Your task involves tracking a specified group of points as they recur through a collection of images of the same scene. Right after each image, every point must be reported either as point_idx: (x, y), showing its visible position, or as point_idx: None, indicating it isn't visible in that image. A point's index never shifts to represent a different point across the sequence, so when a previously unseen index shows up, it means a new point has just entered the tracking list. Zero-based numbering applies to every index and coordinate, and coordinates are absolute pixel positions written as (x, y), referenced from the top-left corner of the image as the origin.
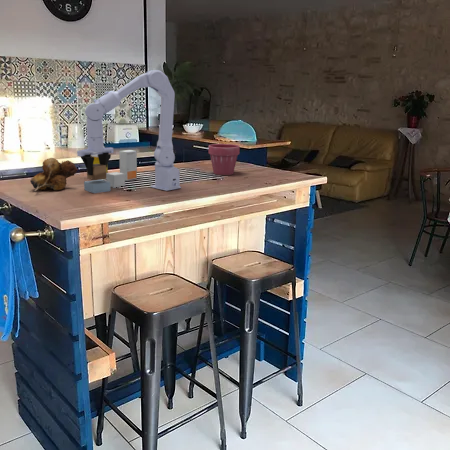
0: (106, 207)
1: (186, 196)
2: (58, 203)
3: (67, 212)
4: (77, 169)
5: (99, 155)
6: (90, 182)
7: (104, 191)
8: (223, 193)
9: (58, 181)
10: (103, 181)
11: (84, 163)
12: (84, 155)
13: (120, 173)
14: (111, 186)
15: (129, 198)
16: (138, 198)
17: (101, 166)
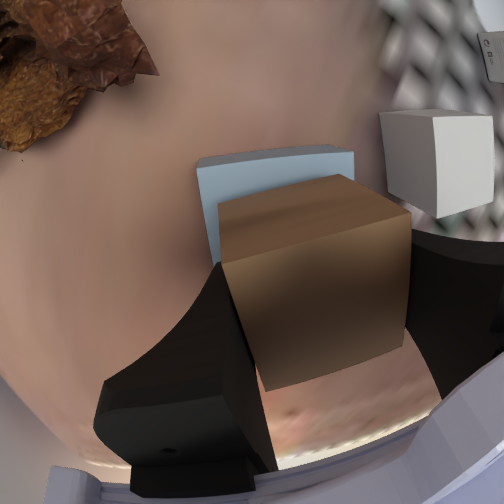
0: None
1: (437, 392)
2: (50, 368)
3: (88, 438)
4: (152, 68)
5: (489, 315)
6: None
7: None
8: None
9: (13, 142)
10: None
11: (173, 335)
12: (157, 497)
13: (485, 180)
14: (387, 162)
15: (313, 396)
16: (337, 399)
17: (349, 362)
